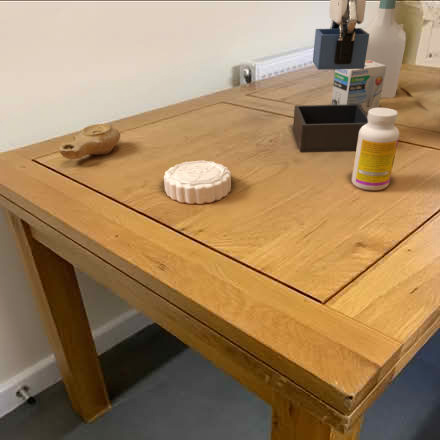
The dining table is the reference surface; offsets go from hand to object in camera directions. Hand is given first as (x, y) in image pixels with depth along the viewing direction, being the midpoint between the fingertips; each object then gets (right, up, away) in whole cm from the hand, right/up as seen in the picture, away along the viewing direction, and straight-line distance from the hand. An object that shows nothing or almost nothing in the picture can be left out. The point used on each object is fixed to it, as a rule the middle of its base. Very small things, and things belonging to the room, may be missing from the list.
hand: (338, 58), depth 93 cm
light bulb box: (+11, 0, +27) cm, 29 cm away
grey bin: (+1, -13, +10) cm, 16 cm away
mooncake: (-28, -28, -8) cm, 40 cm away
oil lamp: (-51, -17, +7) cm, 54 cm away
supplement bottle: (+4, -27, -8) cm, 28 cm away
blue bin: (0, -1, +1) cm, 1 cm away
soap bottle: (+19, +8, +37) cm, 42 cm away
